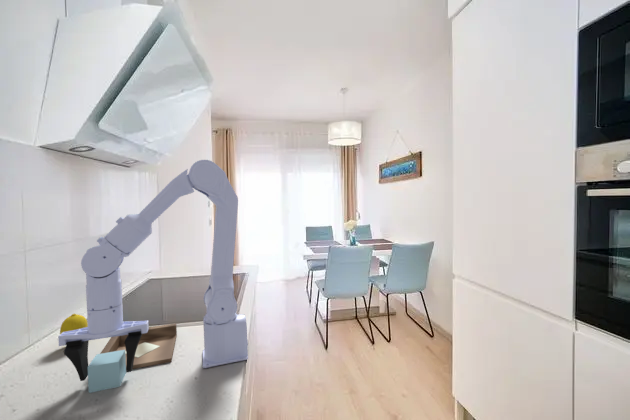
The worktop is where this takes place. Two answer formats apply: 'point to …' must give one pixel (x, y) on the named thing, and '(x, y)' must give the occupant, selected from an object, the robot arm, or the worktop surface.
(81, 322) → the lemon
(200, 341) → the worktop surface
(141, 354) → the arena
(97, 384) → the cube
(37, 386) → the worktop surface
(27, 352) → the worktop surface
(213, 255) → the robot arm
